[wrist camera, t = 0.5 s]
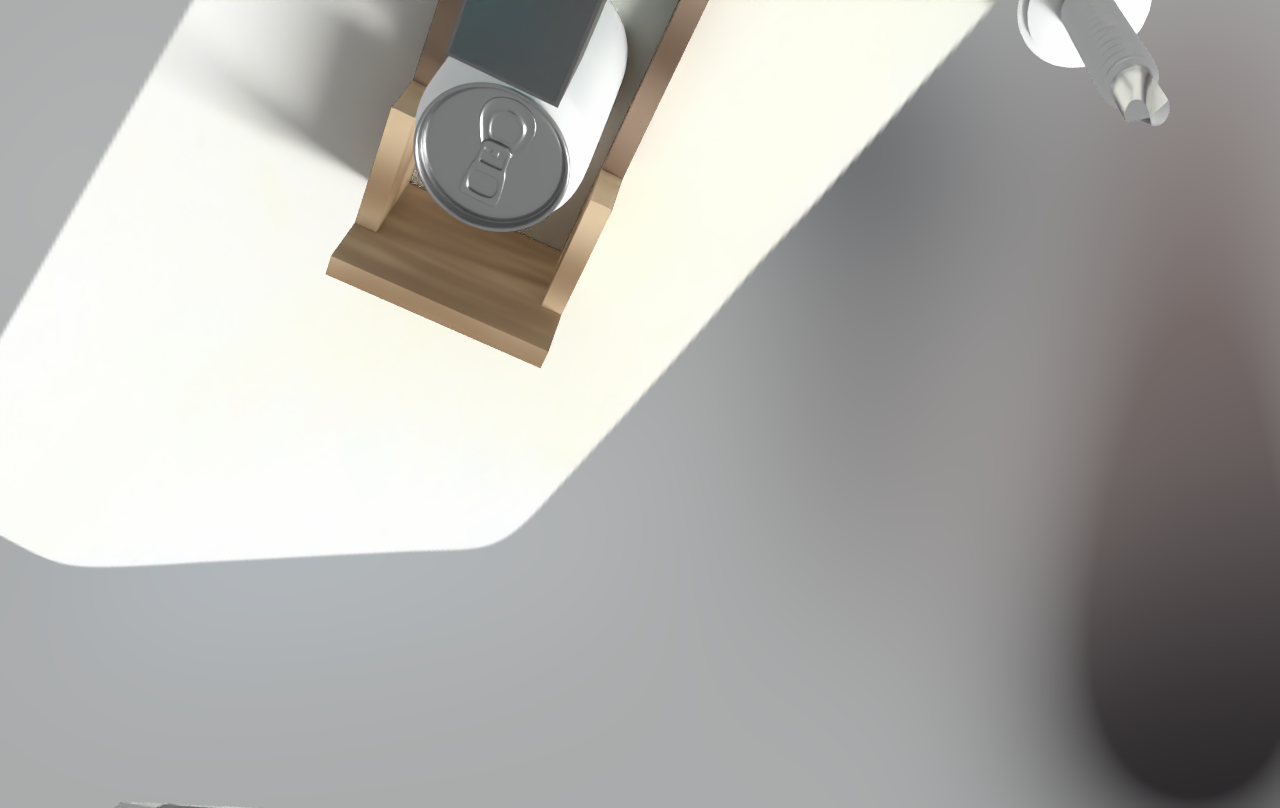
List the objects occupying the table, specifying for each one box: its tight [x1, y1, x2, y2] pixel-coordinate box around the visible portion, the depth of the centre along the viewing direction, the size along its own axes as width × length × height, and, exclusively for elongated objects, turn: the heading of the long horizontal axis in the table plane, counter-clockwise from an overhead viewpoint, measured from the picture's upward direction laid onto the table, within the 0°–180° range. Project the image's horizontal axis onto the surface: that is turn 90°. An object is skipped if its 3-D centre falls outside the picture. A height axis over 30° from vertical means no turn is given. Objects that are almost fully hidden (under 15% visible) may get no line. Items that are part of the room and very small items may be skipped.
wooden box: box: [326, 0, 709, 368], centre depth 45 cm, size 20×10×8 cm, turn 156°
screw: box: [1017, 0, 1170, 126], centre depth 39 cm, size 13×5×5 cm
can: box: [413, 0, 628, 232], centre depth 43 cm, size 6×6×12 cm
